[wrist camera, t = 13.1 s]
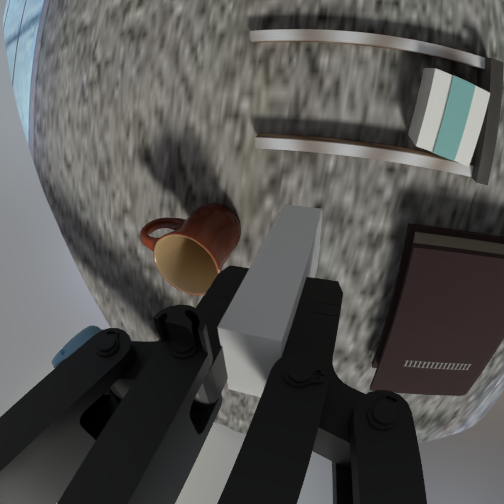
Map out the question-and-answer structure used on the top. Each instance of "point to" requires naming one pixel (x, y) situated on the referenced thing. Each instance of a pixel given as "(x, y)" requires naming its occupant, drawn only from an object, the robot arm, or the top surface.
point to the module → (448, 115)
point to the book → (442, 313)
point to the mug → (193, 246)
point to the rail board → (478, 168)
